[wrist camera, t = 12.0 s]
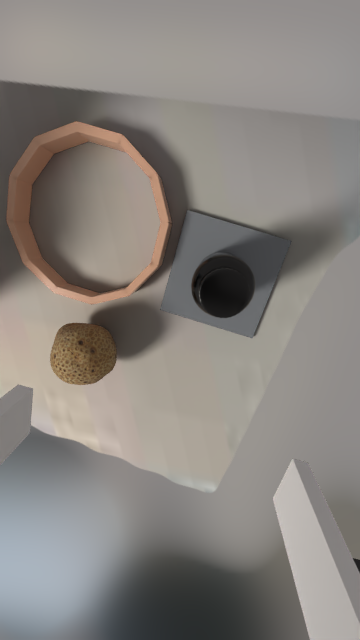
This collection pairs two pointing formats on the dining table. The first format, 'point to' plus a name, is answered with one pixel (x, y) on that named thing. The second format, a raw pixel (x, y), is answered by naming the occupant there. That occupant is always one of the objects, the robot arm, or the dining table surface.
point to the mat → (222, 236)
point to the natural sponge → (83, 353)
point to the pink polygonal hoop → (21, 201)
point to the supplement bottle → (223, 285)
